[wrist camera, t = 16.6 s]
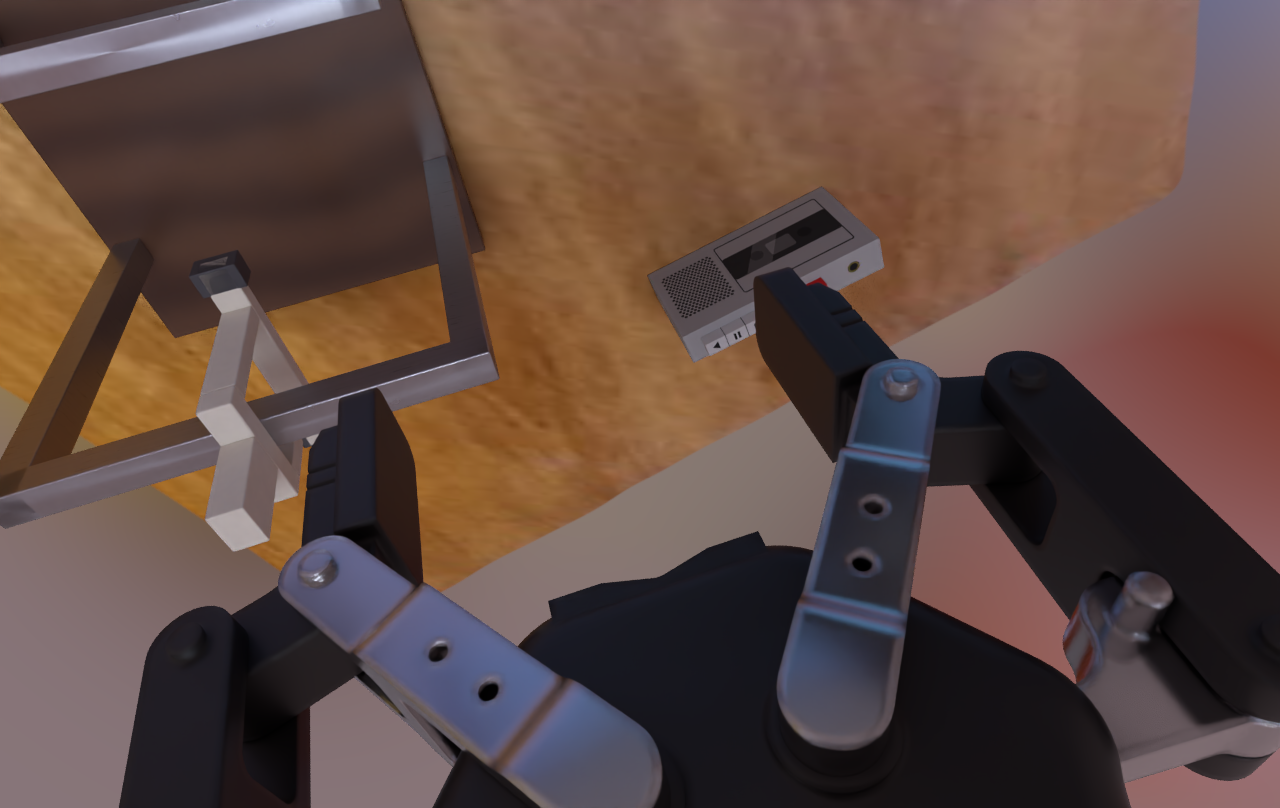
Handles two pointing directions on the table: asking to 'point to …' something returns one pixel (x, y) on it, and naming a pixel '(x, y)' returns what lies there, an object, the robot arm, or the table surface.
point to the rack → (231, 203)
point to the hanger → (244, 407)
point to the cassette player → (762, 268)
